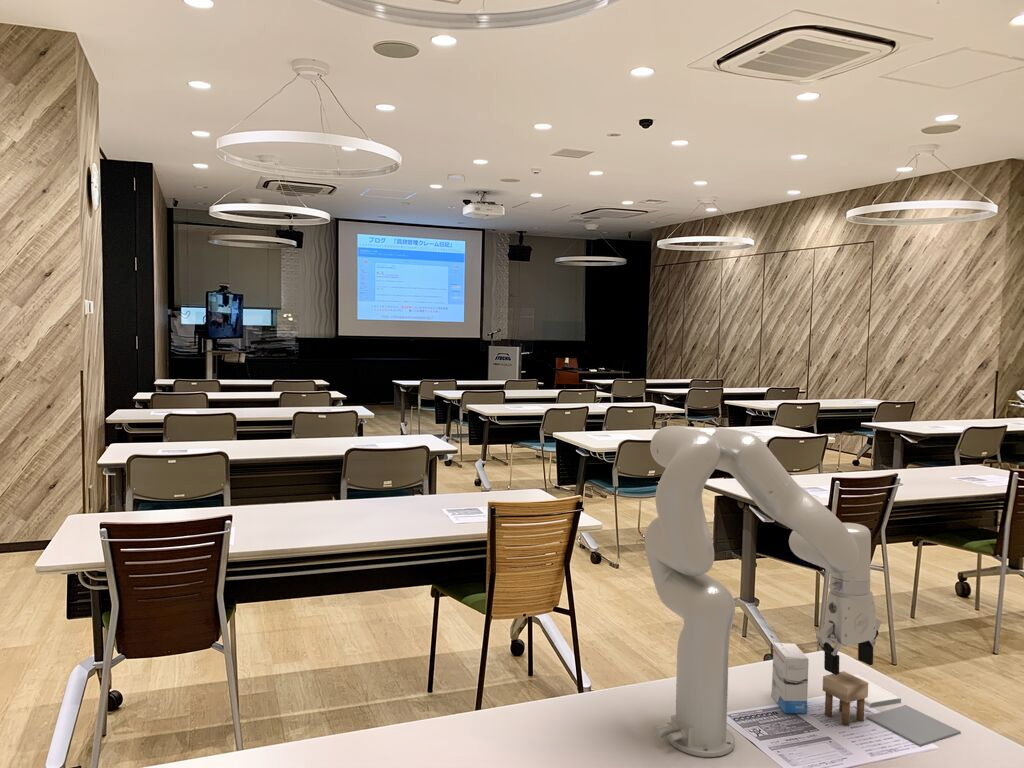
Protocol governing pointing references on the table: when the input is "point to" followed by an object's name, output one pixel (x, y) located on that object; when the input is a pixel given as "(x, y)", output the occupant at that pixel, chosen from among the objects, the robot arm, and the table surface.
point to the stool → (845, 694)
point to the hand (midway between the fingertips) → (848, 667)
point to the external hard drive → (878, 695)
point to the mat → (913, 725)
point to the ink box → (790, 678)
